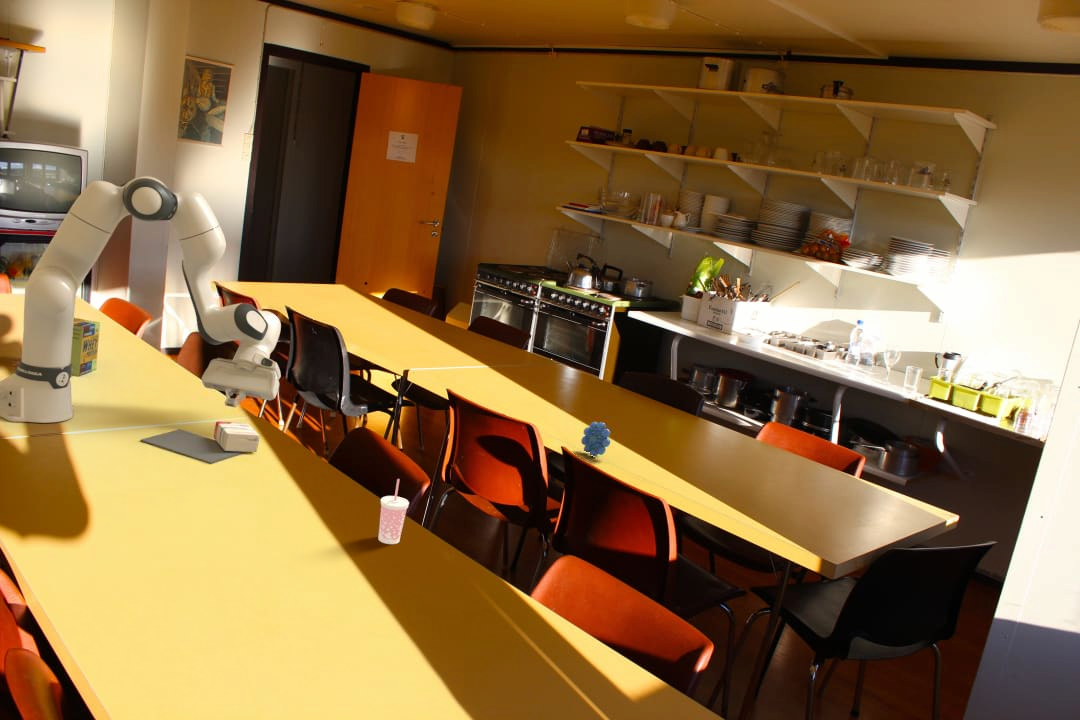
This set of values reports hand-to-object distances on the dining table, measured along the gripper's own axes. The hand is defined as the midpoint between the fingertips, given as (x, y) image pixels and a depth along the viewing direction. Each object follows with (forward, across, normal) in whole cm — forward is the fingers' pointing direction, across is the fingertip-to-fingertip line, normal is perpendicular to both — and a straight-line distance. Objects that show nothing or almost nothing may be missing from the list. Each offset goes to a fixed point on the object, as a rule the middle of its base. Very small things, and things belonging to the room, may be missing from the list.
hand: (230, 405), depth 239 cm
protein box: (-16, -66, +29) cm, 74 cm away
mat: (+14, -3, -2) cm, 15 cm away
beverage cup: (+37, +56, -24) cm, 72 cm away
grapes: (-30, +99, +44) cm, 112 cm away
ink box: (+5, +1, +4) cm, 7 cm away
